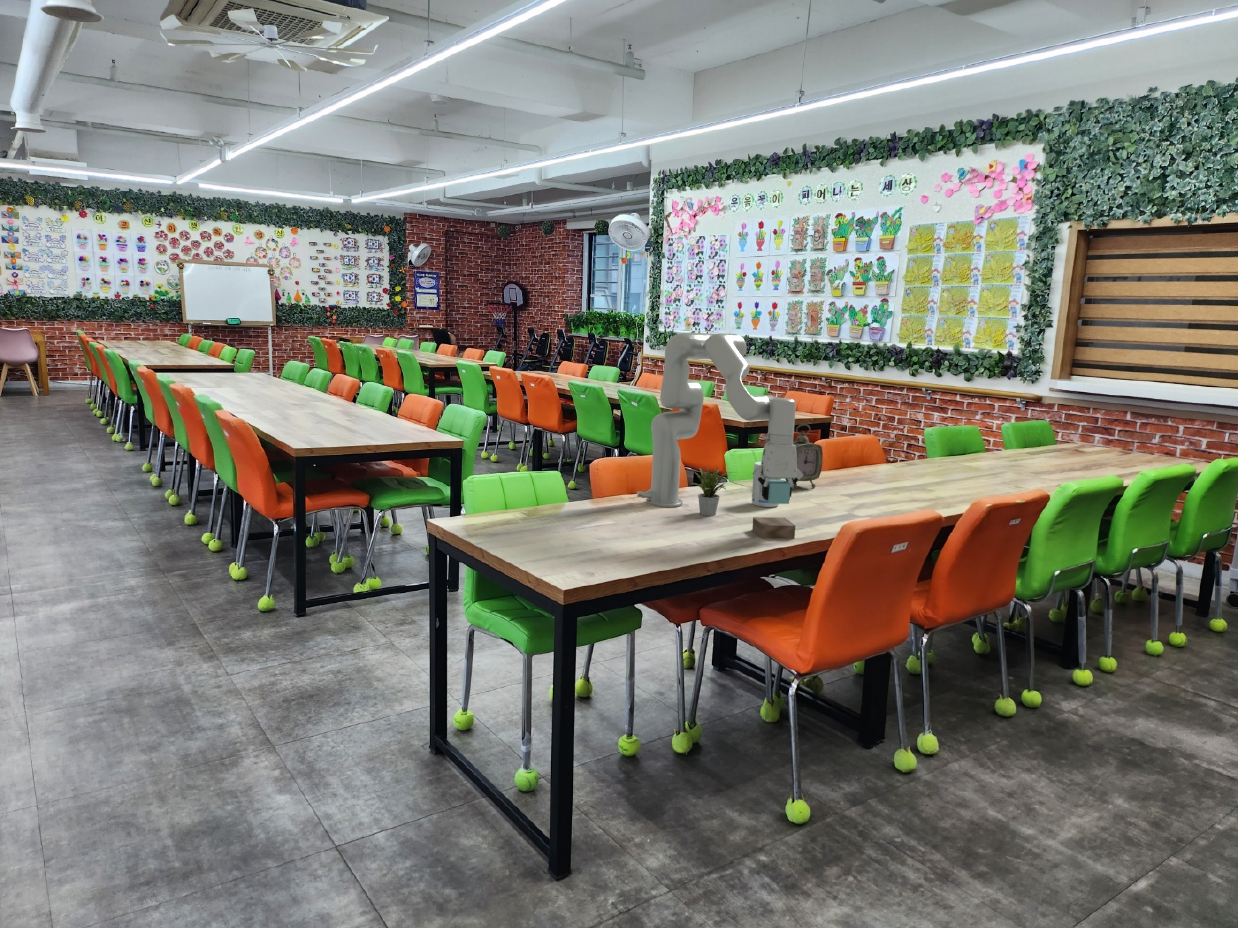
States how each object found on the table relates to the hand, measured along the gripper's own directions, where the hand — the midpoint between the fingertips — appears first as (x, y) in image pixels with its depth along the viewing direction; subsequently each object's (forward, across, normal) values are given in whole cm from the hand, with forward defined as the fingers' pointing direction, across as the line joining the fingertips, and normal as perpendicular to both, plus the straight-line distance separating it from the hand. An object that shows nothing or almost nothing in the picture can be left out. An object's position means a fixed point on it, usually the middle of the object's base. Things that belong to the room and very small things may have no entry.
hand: (776, 498), depth 254 cm
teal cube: (+1, 0, 0) cm, 1 cm away
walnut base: (+11, 0, 0) cm, 11 cm away
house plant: (+11, -14, +24) cm, 30 cm away
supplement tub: (+11, +10, +40) cm, 43 cm away
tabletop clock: (+11, +33, +71) cm, 79 cm away
